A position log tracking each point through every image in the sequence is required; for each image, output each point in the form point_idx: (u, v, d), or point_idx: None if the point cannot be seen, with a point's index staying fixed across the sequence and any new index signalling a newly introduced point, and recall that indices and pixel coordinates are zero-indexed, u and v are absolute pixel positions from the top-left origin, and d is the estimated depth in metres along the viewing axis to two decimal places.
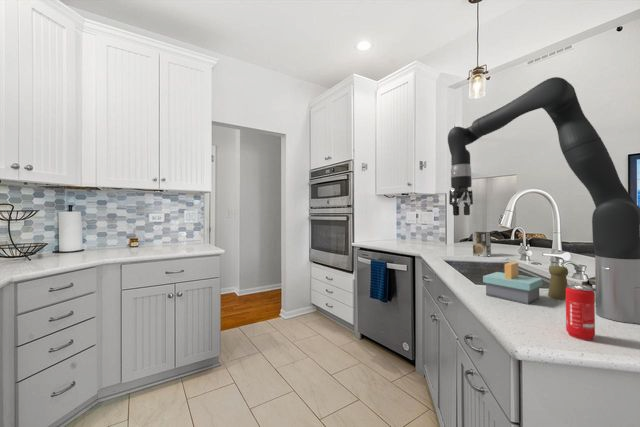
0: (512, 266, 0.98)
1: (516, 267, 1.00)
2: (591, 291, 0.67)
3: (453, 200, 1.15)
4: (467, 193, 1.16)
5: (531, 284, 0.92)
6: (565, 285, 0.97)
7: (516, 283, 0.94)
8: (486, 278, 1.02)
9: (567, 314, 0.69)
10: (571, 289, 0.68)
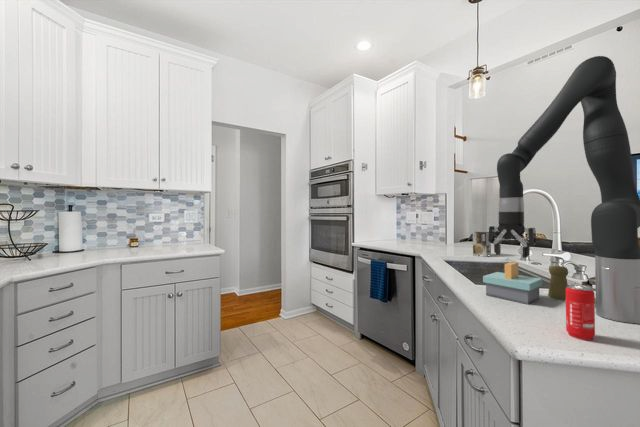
0: (512, 266, 0.98)
1: (516, 267, 1.00)
2: (591, 291, 0.67)
3: (523, 239, 0.96)
4: None
5: (531, 284, 0.92)
6: (565, 285, 0.97)
7: (516, 283, 0.94)
8: (486, 278, 1.02)
9: (567, 314, 0.69)
10: (571, 289, 0.68)
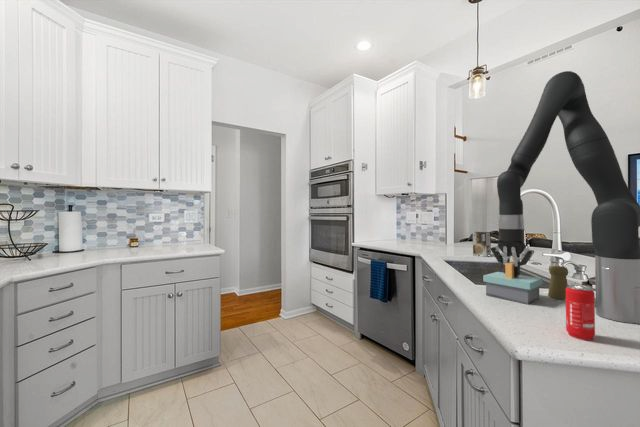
0: (512, 265, 0.98)
1: None
2: (591, 291, 0.67)
3: (517, 259, 0.98)
4: None
5: (531, 283, 0.92)
6: (565, 285, 0.97)
7: (516, 282, 0.94)
8: (486, 277, 1.02)
9: (567, 314, 0.69)
10: (571, 289, 0.68)
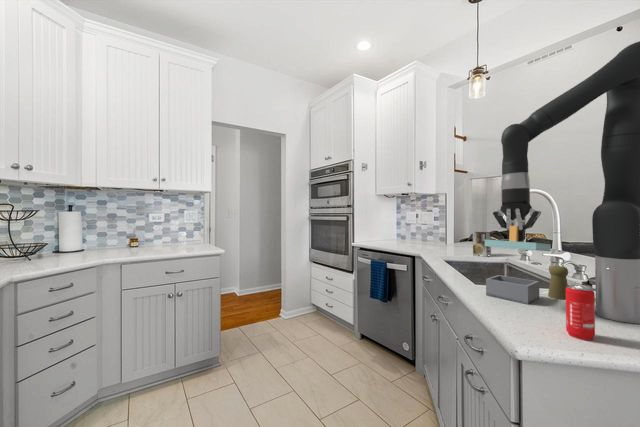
0: None
1: None
2: (591, 291, 0.67)
3: (522, 222, 0.89)
4: None
5: (538, 244, 0.83)
6: (565, 285, 0.97)
7: (521, 243, 0.85)
8: (488, 241, 0.93)
9: (567, 314, 0.69)
10: (571, 289, 0.68)
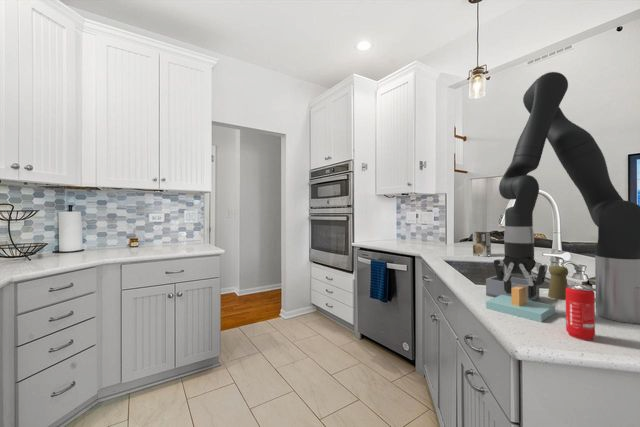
0: (520, 291, 0.85)
1: (524, 292, 0.87)
2: (591, 291, 0.67)
3: (530, 277, 0.84)
4: None
5: (543, 314, 0.79)
6: (565, 285, 0.97)
7: (525, 312, 0.81)
8: (490, 304, 0.89)
9: (567, 314, 0.69)
10: (571, 289, 0.68)
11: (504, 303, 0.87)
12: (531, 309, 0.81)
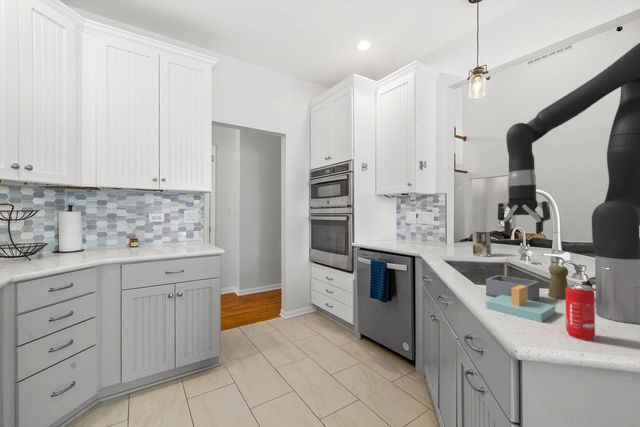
0: (520, 291, 0.85)
1: (524, 292, 0.87)
2: (591, 291, 0.67)
3: (536, 214, 0.90)
4: None
5: (543, 314, 0.79)
6: (565, 285, 0.97)
7: (525, 312, 0.81)
8: (490, 304, 0.89)
9: (567, 314, 0.69)
10: (571, 289, 0.68)
11: (504, 303, 0.87)
12: (531, 309, 0.81)
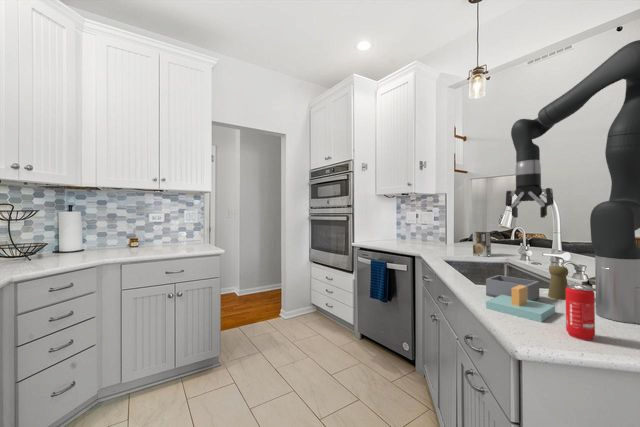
0: (520, 291, 0.85)
1: (524, 292, 0.87)
2: (591, 291, 0.67)
3: (540, 200, 1.00)
4: None
5: (543, 314, 0.79)
6: (565, 285, 0.97)
7: (525, 312, 0.81)
8: (490, 304, 0.89)
9: (567, 314, 0.69)
10: (571, 289, 0.68)
11: (504, 303, 0.87)
12: (531, 309, 0.81)
